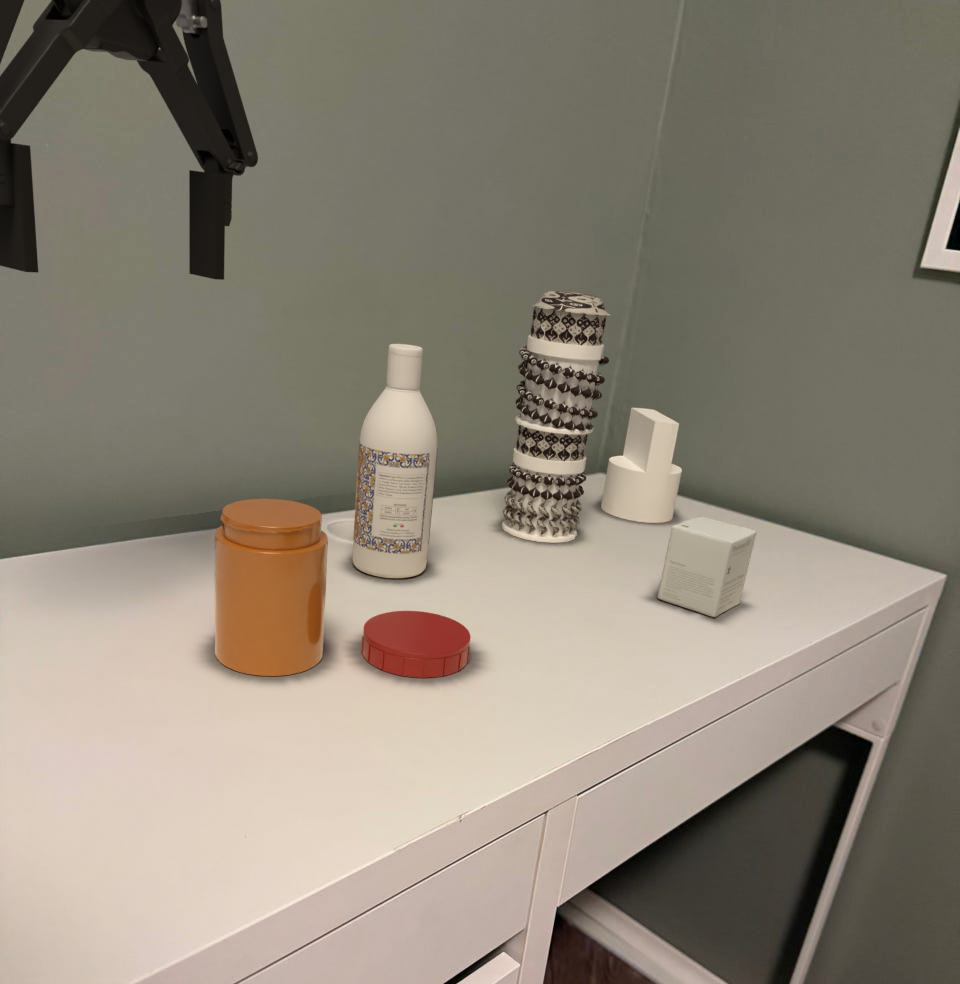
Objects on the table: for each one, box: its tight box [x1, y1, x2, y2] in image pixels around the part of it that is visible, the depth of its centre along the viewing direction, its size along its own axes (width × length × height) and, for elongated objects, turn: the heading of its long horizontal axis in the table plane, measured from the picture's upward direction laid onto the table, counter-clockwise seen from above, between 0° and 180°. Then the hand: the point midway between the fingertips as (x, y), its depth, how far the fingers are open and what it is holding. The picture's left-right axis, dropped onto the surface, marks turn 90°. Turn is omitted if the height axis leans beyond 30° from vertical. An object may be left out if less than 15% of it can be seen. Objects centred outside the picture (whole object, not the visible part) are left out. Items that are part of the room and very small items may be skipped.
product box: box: [657, 516, 757, 618], centre depth 86 cm, size 6×6×7 cm
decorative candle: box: [501, 290, 611, 544], centre depth 98 cm, size 9×9×25 cm
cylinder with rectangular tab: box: [600, 407, 683, 524], centre depth 113 cm, size 9×9×12 cm
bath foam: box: [352, 343, 439, 579], centre depth 82 cm, size 7×7×20 cm
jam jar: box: [214, 498, 329, 677], centre depth 65 cm, size 8×8×11 cm
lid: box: [360, 610, 471, 679], centre depth 69 cm, size 8×8×2 cm
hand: (121, 274), depth 59 cm, fingers open, 13 cm apart
